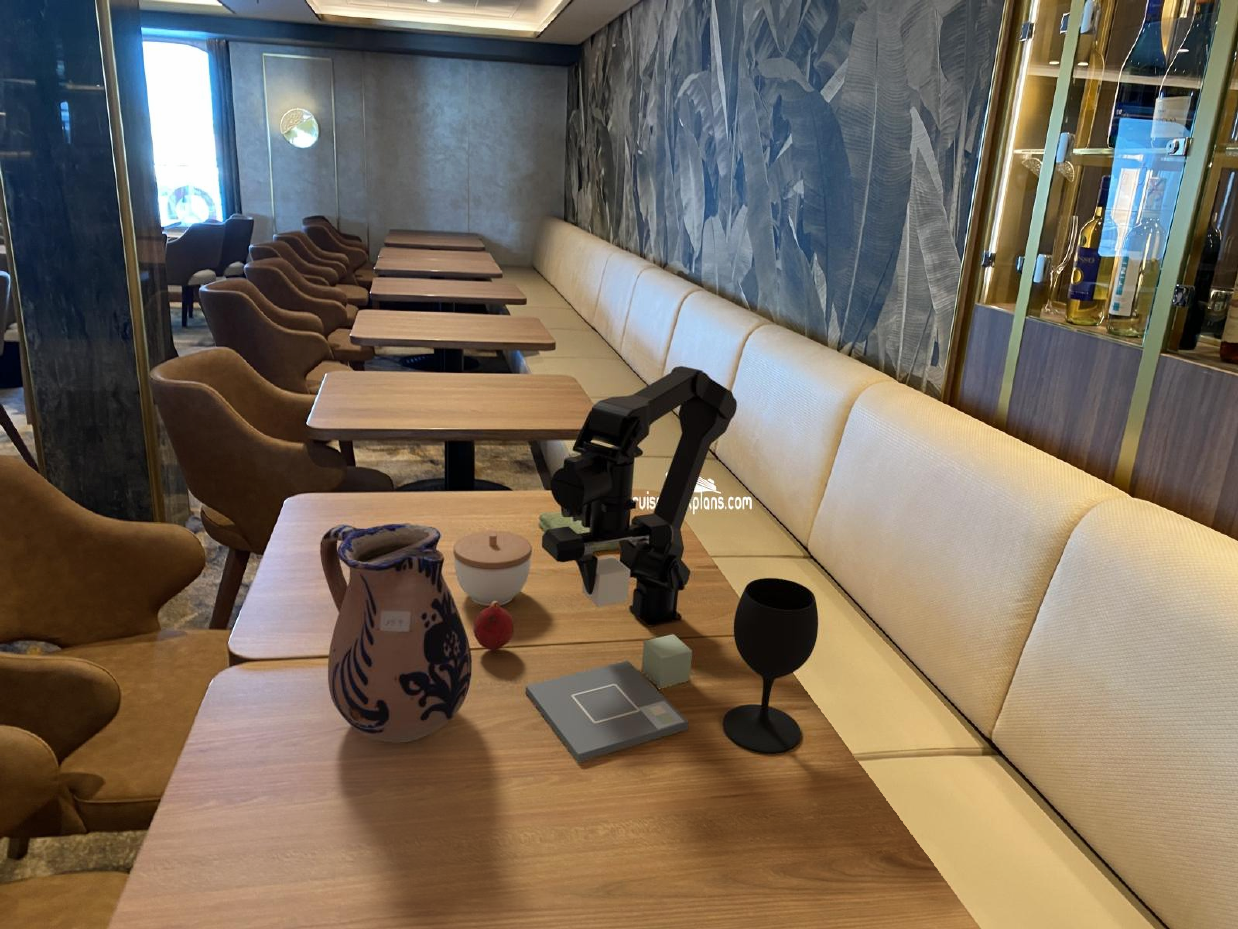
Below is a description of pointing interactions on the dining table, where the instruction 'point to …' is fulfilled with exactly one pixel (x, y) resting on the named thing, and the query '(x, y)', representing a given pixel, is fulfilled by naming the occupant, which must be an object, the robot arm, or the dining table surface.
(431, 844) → the dining table surface
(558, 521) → the washcloth
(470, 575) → the lidded bowl
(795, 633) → the wine glass
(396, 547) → the ceramic pitcher
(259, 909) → the dining table surface
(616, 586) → the cream block
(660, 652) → the sage block
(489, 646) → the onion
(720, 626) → the dining table surface
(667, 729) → the slate board
